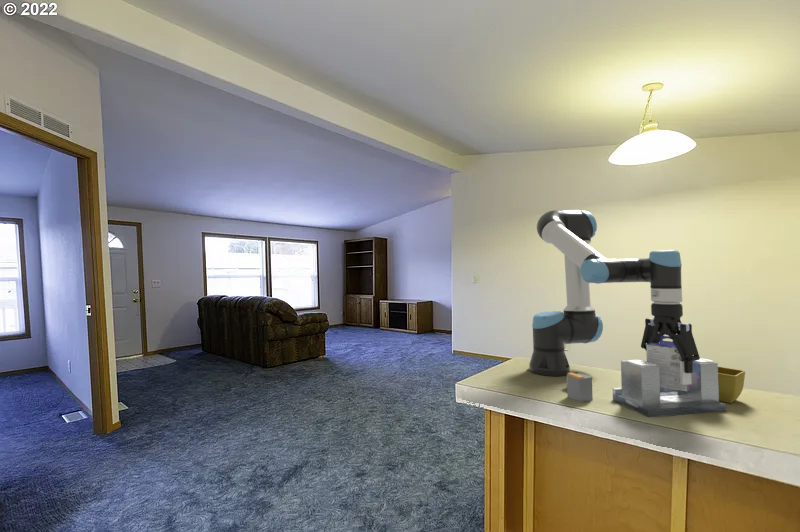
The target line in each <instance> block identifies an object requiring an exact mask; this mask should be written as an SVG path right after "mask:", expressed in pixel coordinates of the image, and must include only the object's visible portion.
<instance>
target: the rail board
mask: <svg viewBox="0 0 800 532" xmlns="http://www.w3.org/2000/svg"><path fill="white" fill-rule="evenodd" d="M692 365H693V372H692V373H691V388H690V389H689V390H688V391H681V390H675V389H669V388H663V387H660V375H659V366H657V365H656V364H653V363H650V362H647V360H642V359H627V360H626V359H625V360H624V359H623V360H620V374H621V375H620V378H621V379H620V380H621V387H613V388H612V401H614V402H617V403H619V404H621V405H623V406H624V407H627V408H629V409H631V410H633V411H635V412H637V413H639V414H641V415H643V416H645V417H647V418H655V417H665V416H669V417H670V416H679V415H690V414H691V415H693V414H705V413H706V414H707V413H718V412H719V413H720V412H727V406H726V405H727V404H726V402H723V401H719V390H718V367H719V363H718V362H715V361H714V360H712V359H707V358H703V357H700V359H699V360H695V361H693V362H692Z"/></svg>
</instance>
